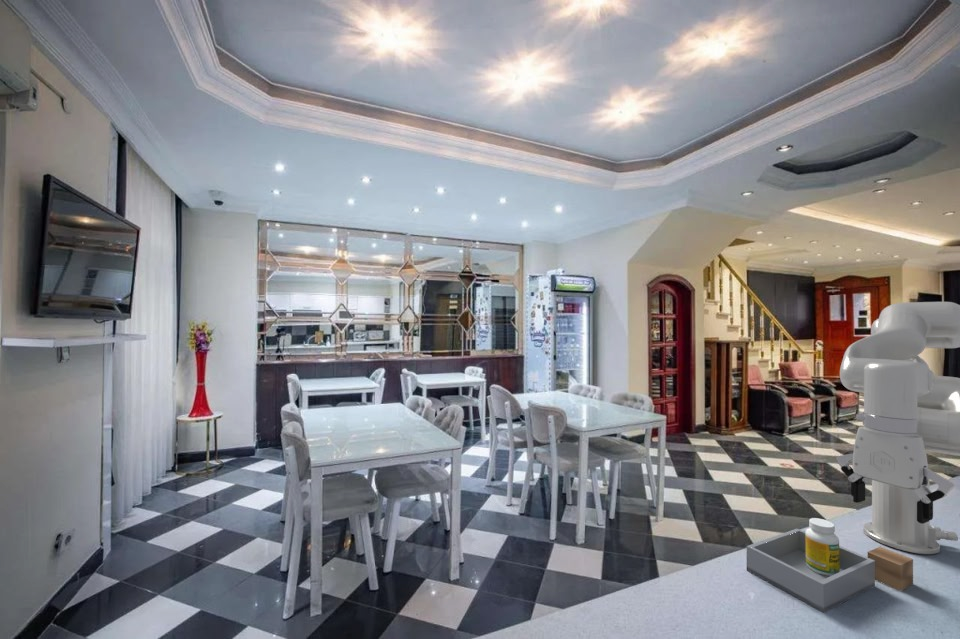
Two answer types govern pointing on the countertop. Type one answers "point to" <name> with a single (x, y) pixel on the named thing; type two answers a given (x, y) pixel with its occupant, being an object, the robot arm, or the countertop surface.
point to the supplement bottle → (822, 547)
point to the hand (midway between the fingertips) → (889, 511)
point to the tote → (809, 571)
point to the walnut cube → (892, 568)
